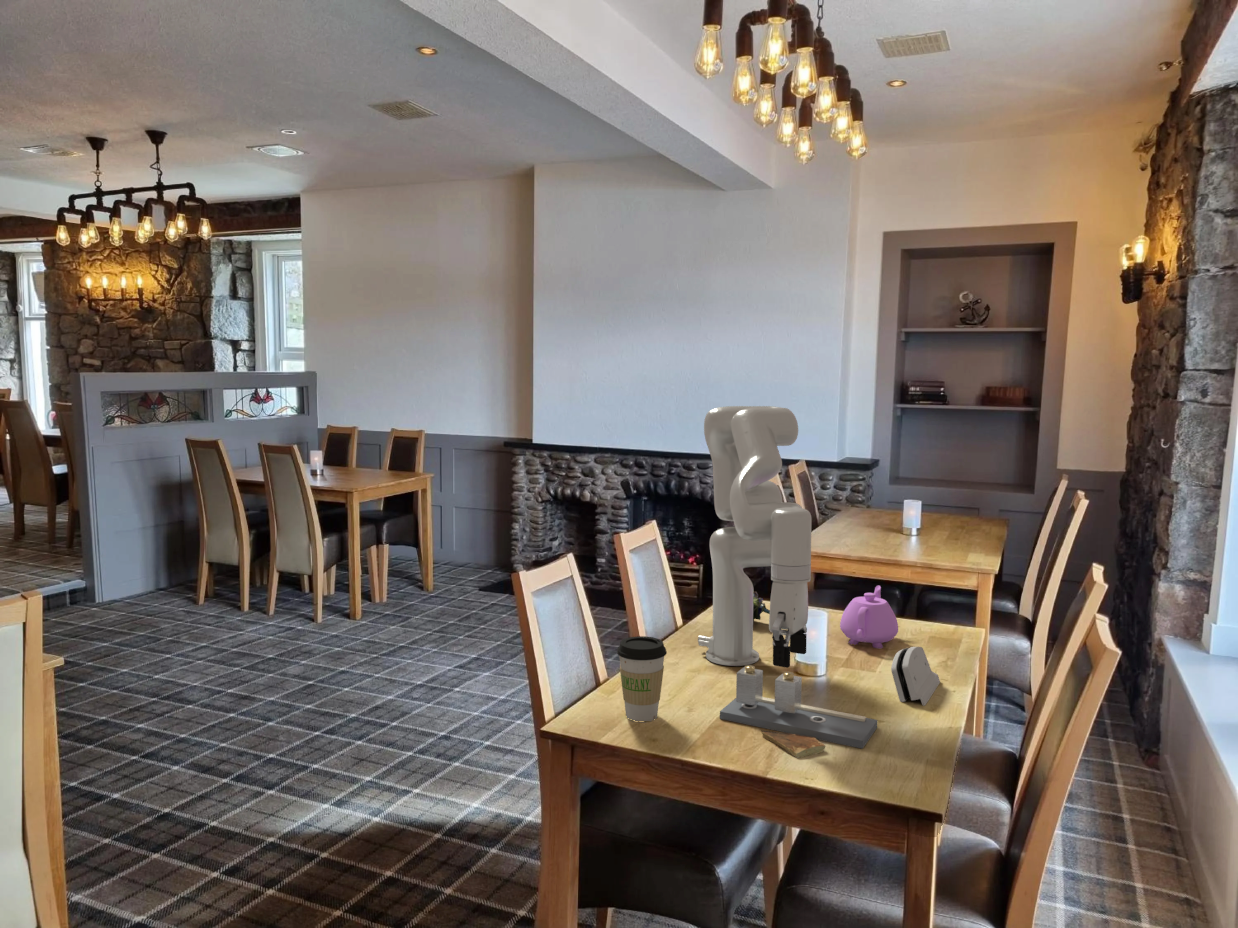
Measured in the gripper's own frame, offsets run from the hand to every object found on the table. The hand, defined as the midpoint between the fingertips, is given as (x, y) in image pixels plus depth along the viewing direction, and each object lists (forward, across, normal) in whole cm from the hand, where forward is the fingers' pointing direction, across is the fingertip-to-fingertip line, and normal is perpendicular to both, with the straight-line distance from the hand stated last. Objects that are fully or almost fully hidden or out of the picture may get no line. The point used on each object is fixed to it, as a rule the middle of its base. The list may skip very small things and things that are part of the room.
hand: (789, 659), depth 170 cm
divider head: (+11, -1, -1) cm, 11 cm away
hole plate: (+13, -1, +1) cm, 13 cm away
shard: (+14, +11, +4) cm, 18 cm away
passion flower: (+11, -59, -33) cm, 68 cm away
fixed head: (+11, -1, -9) cm, 14 cm away
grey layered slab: (+13, -30, +18) cm, 37 cm away
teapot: (+12, -61, 0) cm, 62 cm away
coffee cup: (+13, +11, -27) cm, 32 cm away
